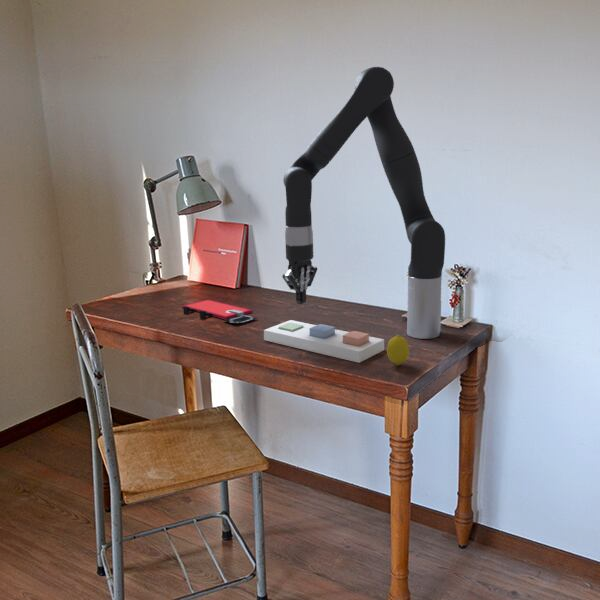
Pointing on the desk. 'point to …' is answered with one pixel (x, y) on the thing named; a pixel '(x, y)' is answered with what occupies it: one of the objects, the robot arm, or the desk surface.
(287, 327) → the sage button
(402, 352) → the lemon
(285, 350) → the desk surface
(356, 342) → the terracotta button
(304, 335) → the button panel
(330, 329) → the slate button
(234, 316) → the red board with handle
